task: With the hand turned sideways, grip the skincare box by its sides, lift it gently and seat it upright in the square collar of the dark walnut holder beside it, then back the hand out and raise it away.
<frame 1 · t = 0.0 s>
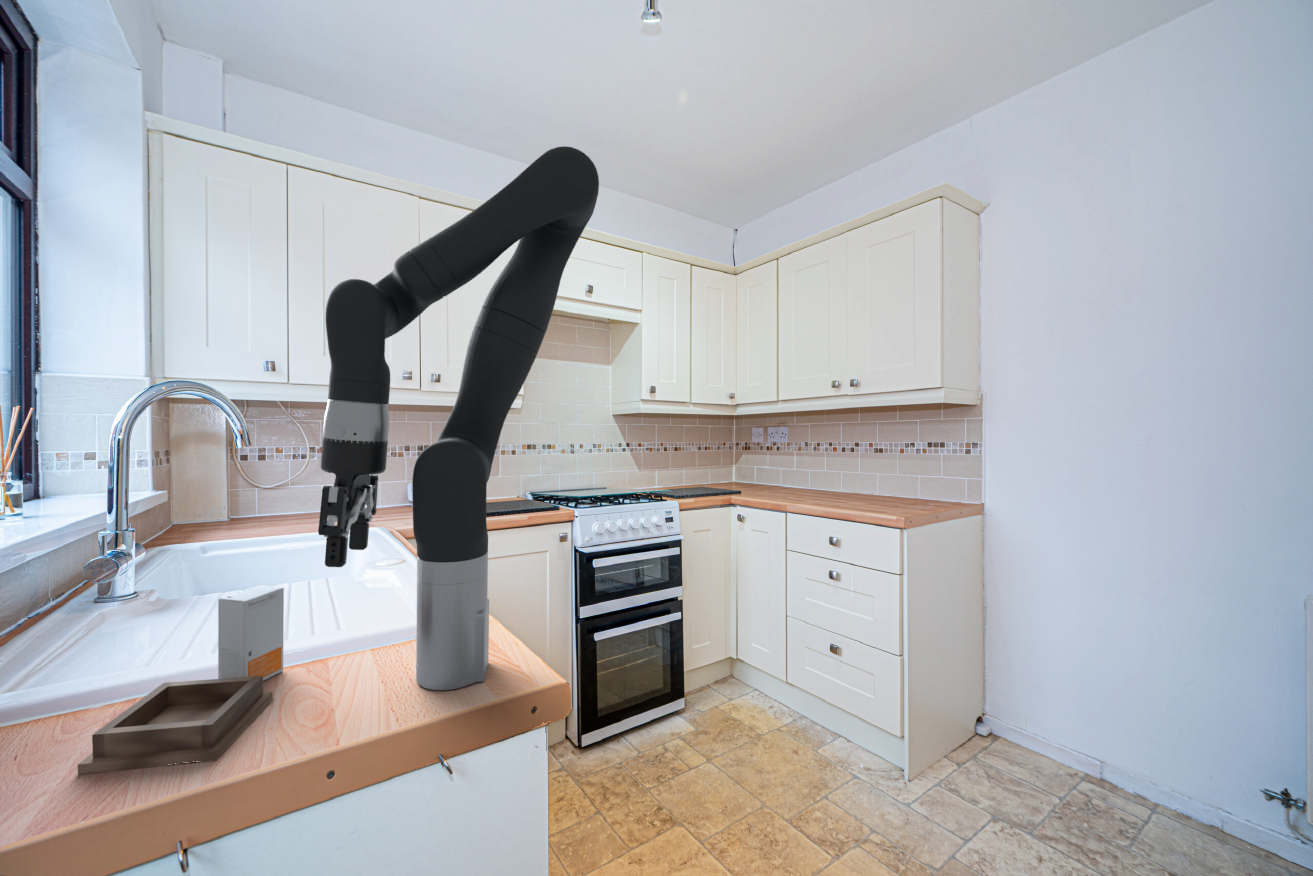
hand: (347, 557, 71), 17 cm above the countertop, tool pointing down, fingers open, 8 cm apart
skincare box: (252, 680, 72), on the countertop
walnut holder: (186, 732, 60), on the countertop
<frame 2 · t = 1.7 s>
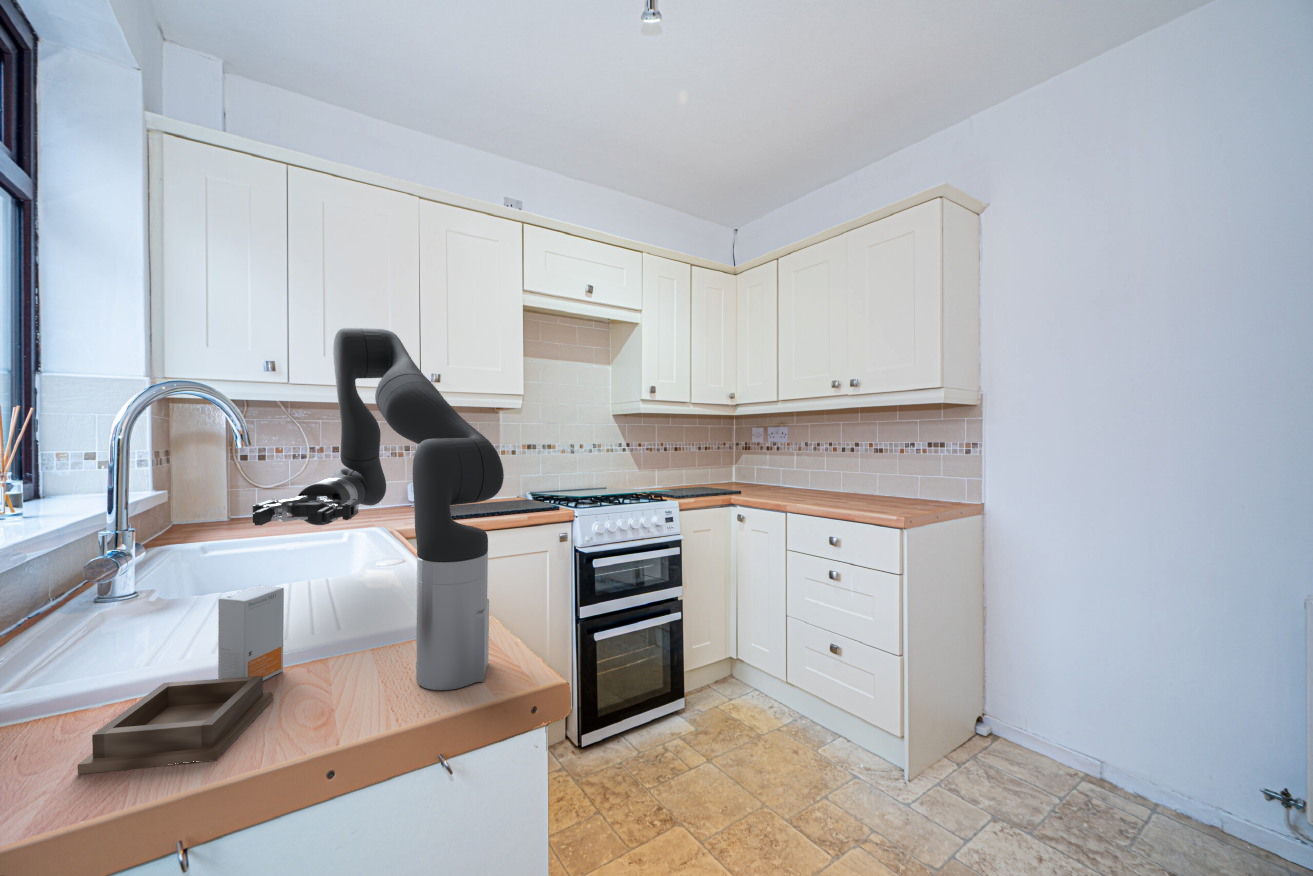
hand: (288, 518, 82), 20 cm above the countertop, tool horizontal, fingers open, 8 cm apart
nothing on the countertop moved.
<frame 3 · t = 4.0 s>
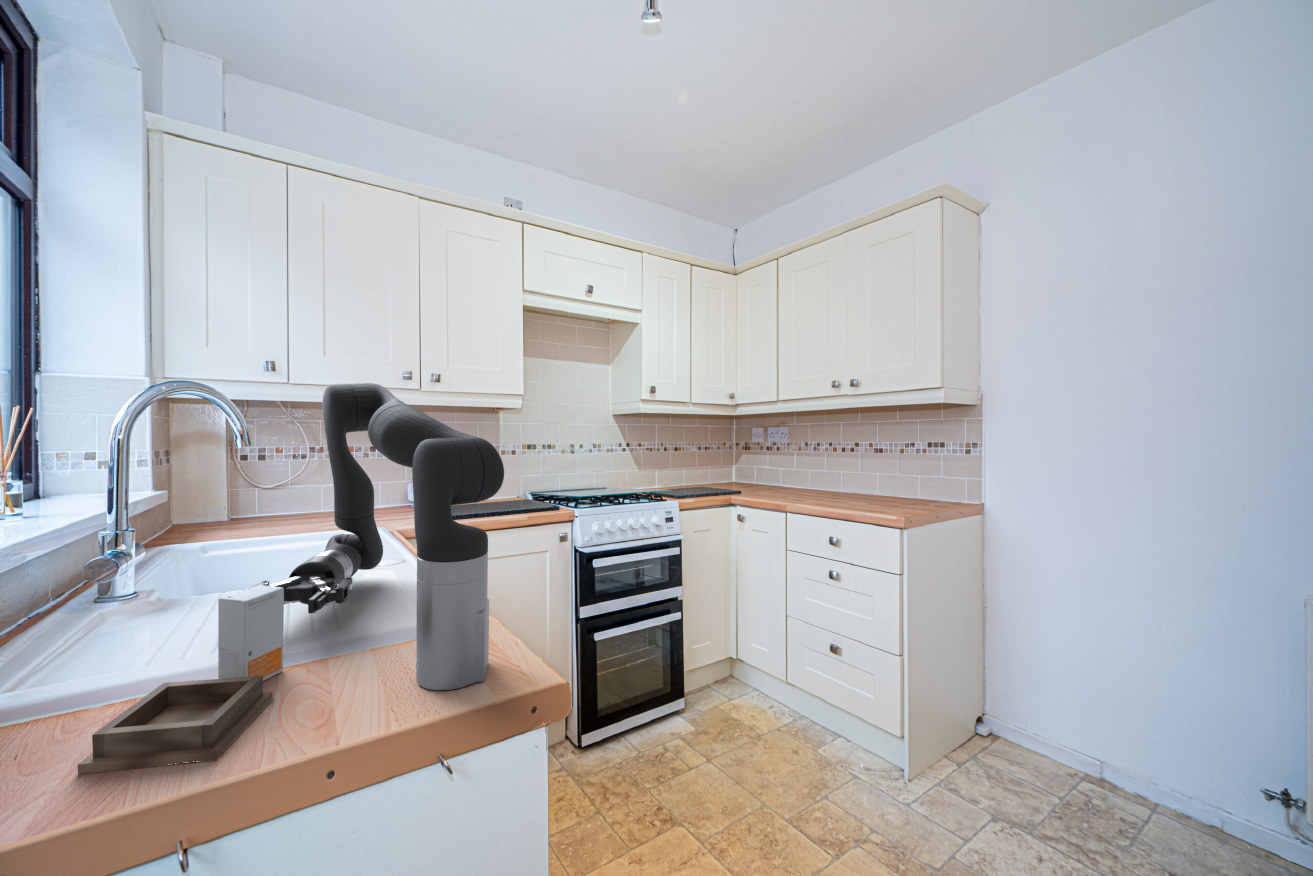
hand: (278, 608, 79), 7 cm above the countertop, tool horizontal, fingers open, 8 cm apart
nothing on the countertop moved.
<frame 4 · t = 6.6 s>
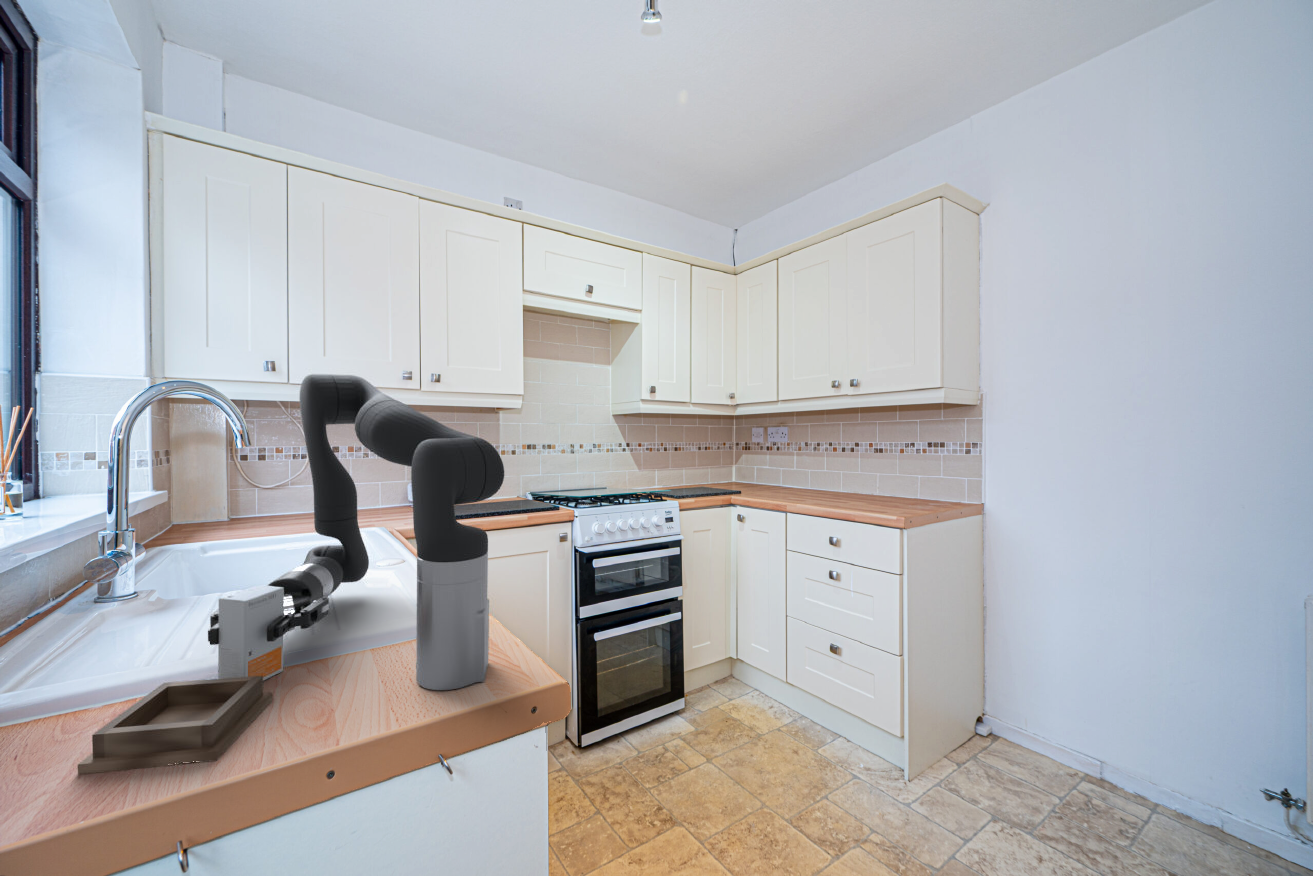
hand: (241, 635, 69), 7 cm above the countertop, tool horizontal, fingers closed on skincare box, 6 cm apart
skincare box: (252, 680, 72), on the countertop, touching gripper
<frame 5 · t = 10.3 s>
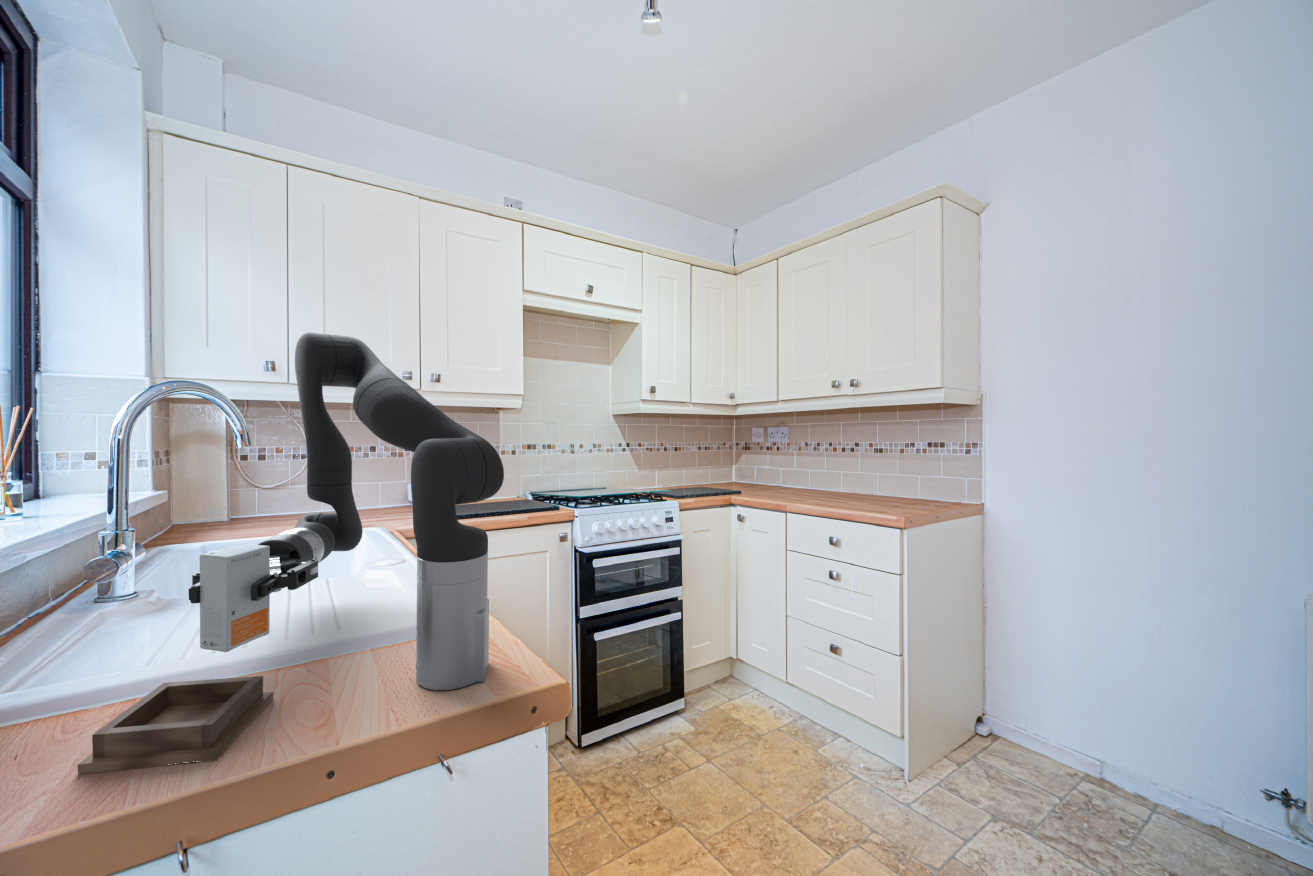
hand: (224, 594, 66), 14 cm above the countertop, tool horizontal, fingers closed on skincare box, 6 cm apart
skincare box: (237, 642, 69), point 6 cm above the countertop, touching gripper
when the fingers open (9 cm above the countertop, at t = 14.2 s): skincare box drops 1 cm, resting on walnut holder.
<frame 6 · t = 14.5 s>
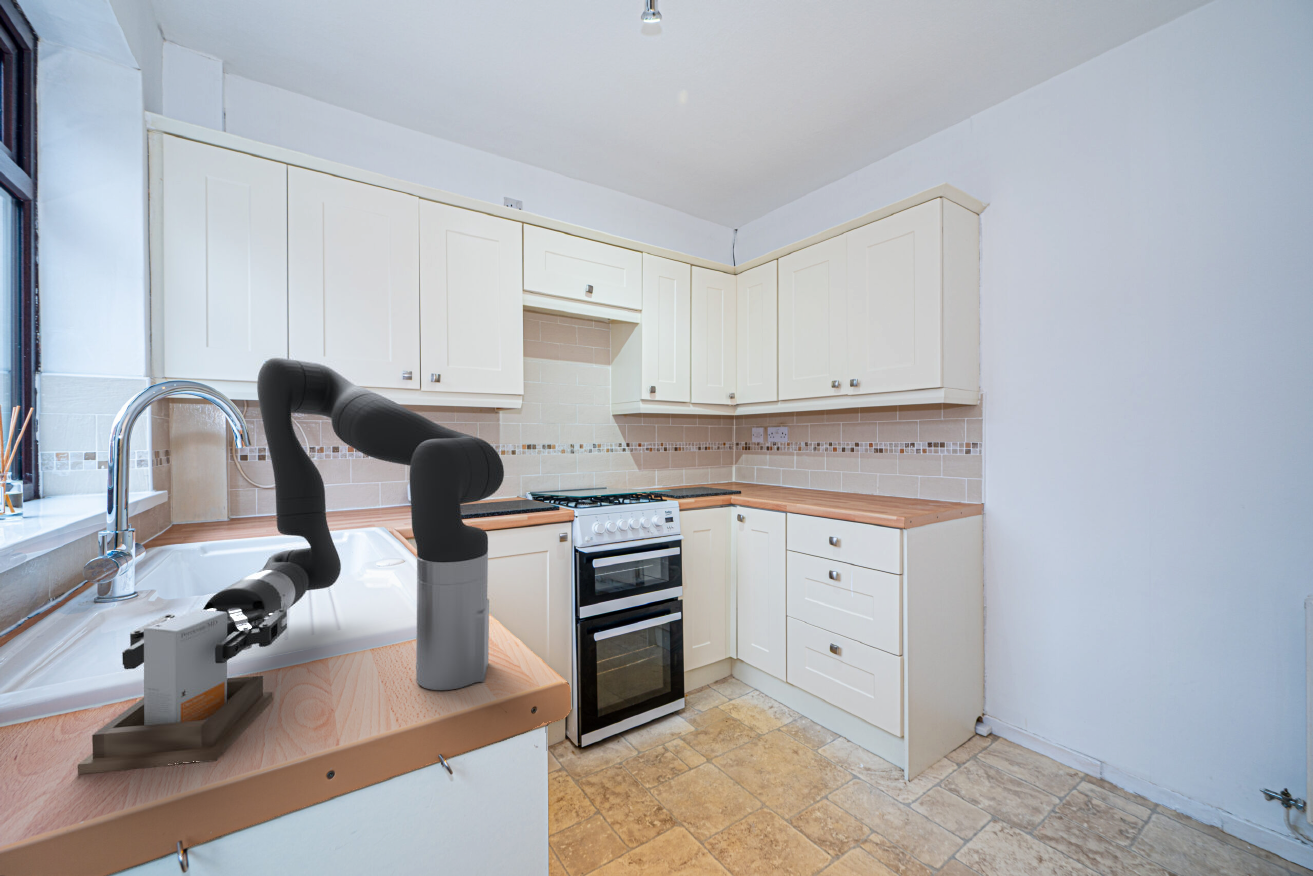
hand: (174, 657, 58), 10 cm above the countertop, tool horizontal, fingers open, 8 cm apart
skincare box: (188, 724, 60), point 1 cm above the countertop, touching walnut holder
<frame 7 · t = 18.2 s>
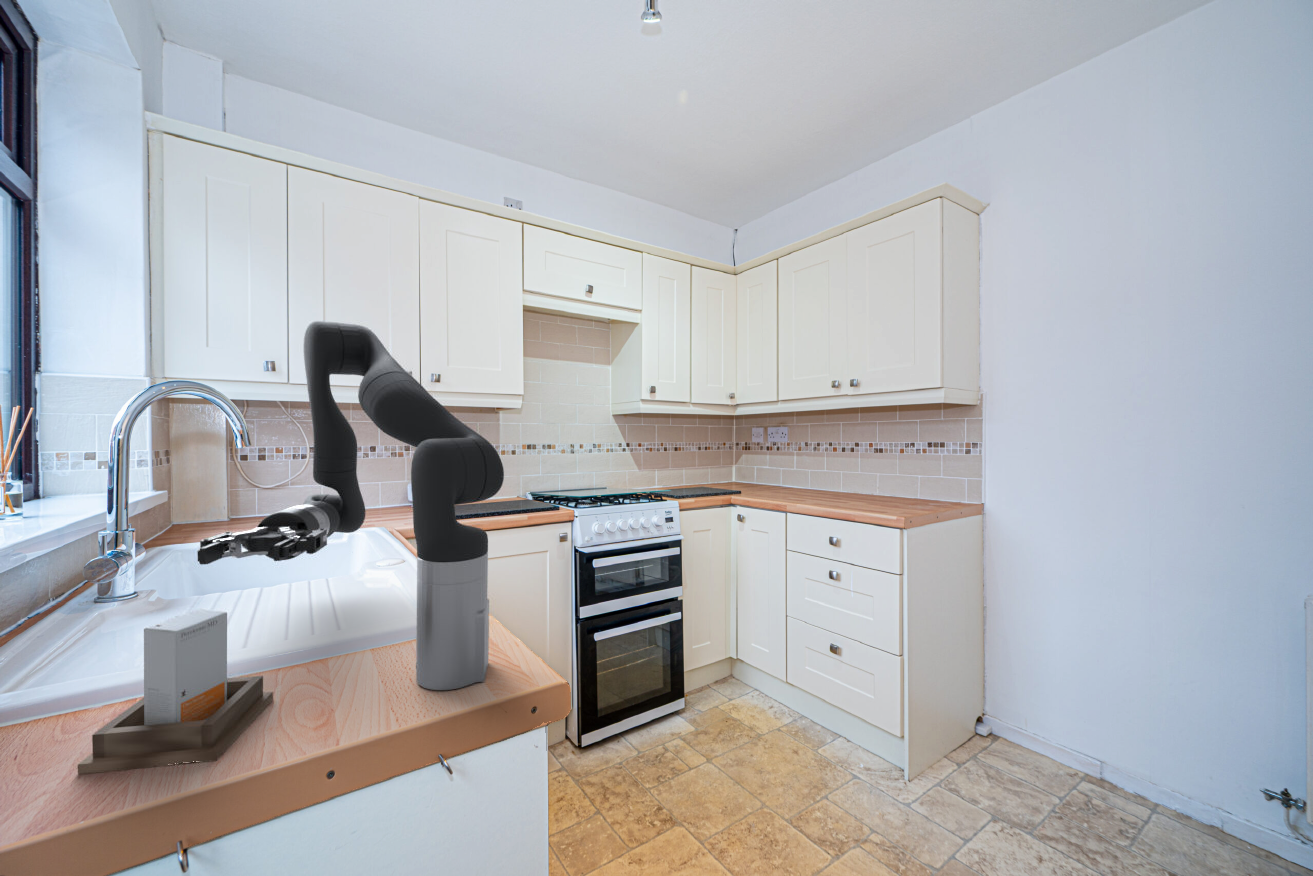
hand: (239, 555, 70), 17 cm above the countertop, tool horizontal, fingers open, 8 cm apart
nothing on the countertop moved.
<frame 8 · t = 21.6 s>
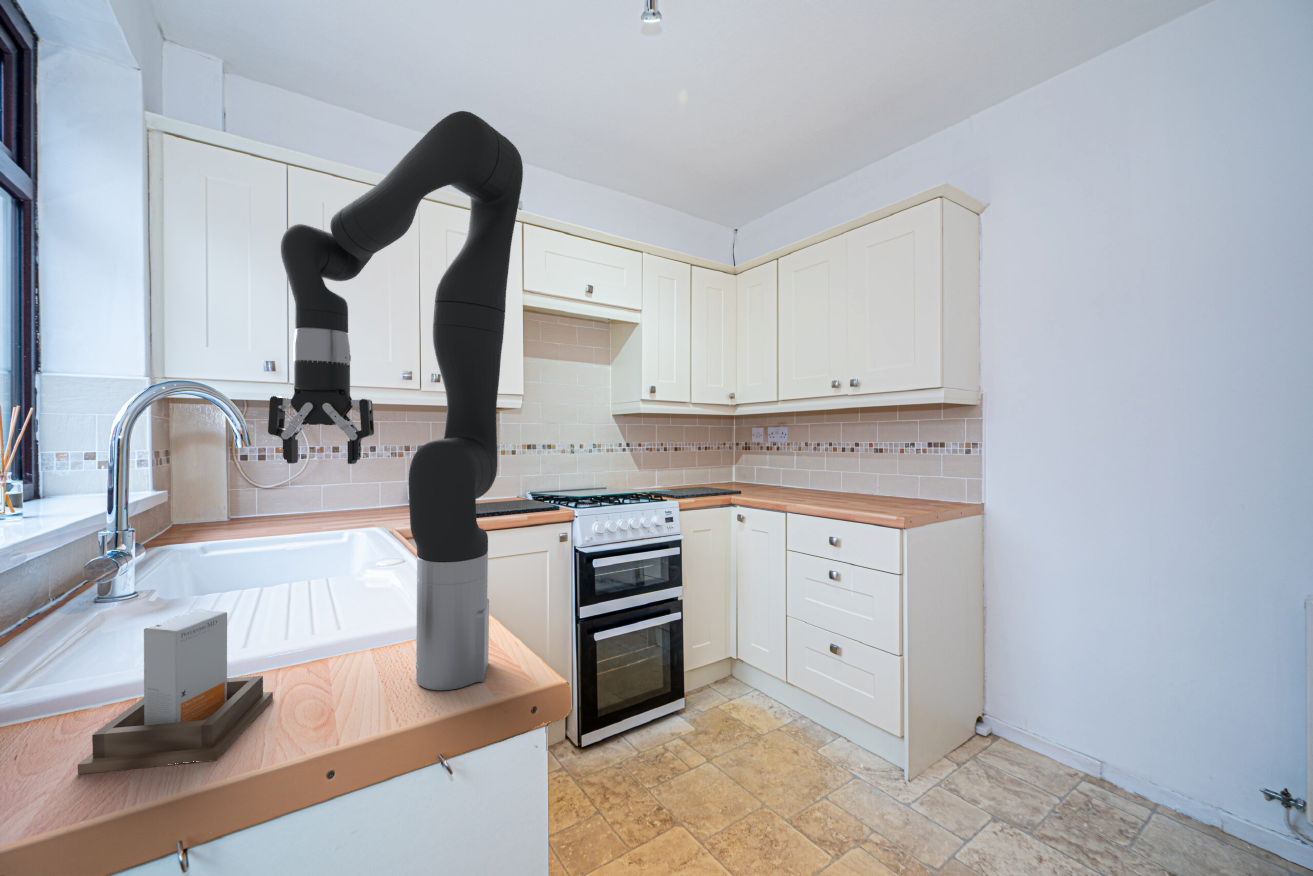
hand: (322, 463, 84), 28 cm above the countertop, tool pointing down, fingers open, 8 cm apart
nothing on the countertop moved.
at the end: skincare box 0.2 cm off-centre on the walnut holder, point 0.8 cm above the walnut holder's base; skincare box tilted 0°; the gripper is holding nothing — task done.
